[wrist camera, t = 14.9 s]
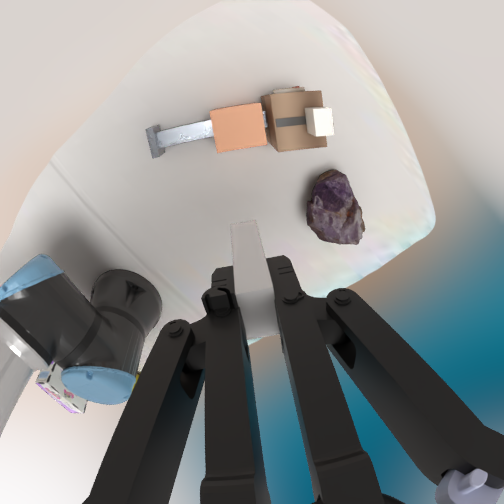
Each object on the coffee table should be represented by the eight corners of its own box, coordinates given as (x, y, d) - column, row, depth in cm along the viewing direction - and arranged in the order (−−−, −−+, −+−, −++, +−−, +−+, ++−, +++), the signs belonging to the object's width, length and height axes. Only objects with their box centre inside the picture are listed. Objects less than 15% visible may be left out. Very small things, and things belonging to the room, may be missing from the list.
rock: (339, 162, 44) (286, 189, 45) (358, 167, 36) (295, 199, 37) (365, 221, 47) (316, 247, 49) (385, 237, 39) (329, 268, 41)
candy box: (56, 335, 58) (33, 382, 44) (69, 332, 58) (46, 382, 43) (85, 367, 65) (70, 413, 51) (99, 365, 65) (84, 414, 50)
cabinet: (267, 140, 40) (278, 152, 31) (260, 91, 36) (269, 88, 27) (306, 136, 40) (327, 147, 31) (300, 87, 36) (320, 84, 27)
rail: (159, 153, 39) (152, 158, 36) (153, 126, 37) (145, 129, 34) (272, 131, 39) (277, 134, 36) (268, 103, 37) (272, 103, 34)
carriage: (219, 142, 40) (217, 153, 32) (213, 109, 37) (209, 111, 29) (259, 135, 39) (267, 144, 32) (254, 102, 37) (261, 102, 29)
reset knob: (307, 132, 30) (316, 136, 27) (304, 108, 28) (313, 109, 25) (323, 131, 30) (334, 135, 27) (321, 106, 28) (331, 107, 25)
